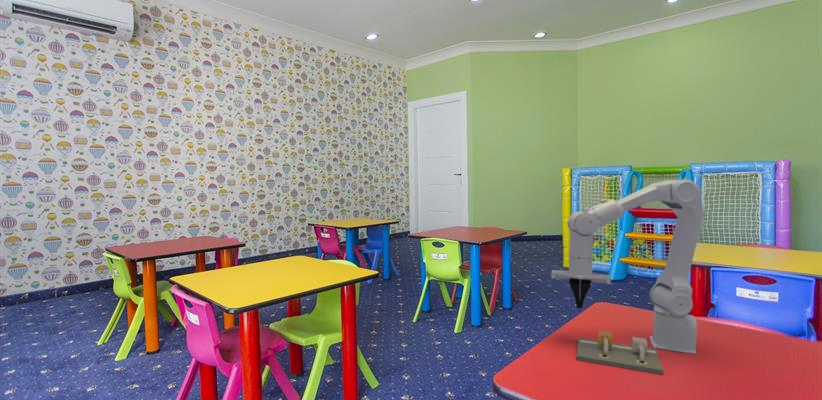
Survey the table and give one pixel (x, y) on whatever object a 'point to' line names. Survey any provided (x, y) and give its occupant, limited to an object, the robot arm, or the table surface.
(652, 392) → the table surface
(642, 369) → the plate
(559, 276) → the robot arm
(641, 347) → the fixed leg
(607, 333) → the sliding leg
